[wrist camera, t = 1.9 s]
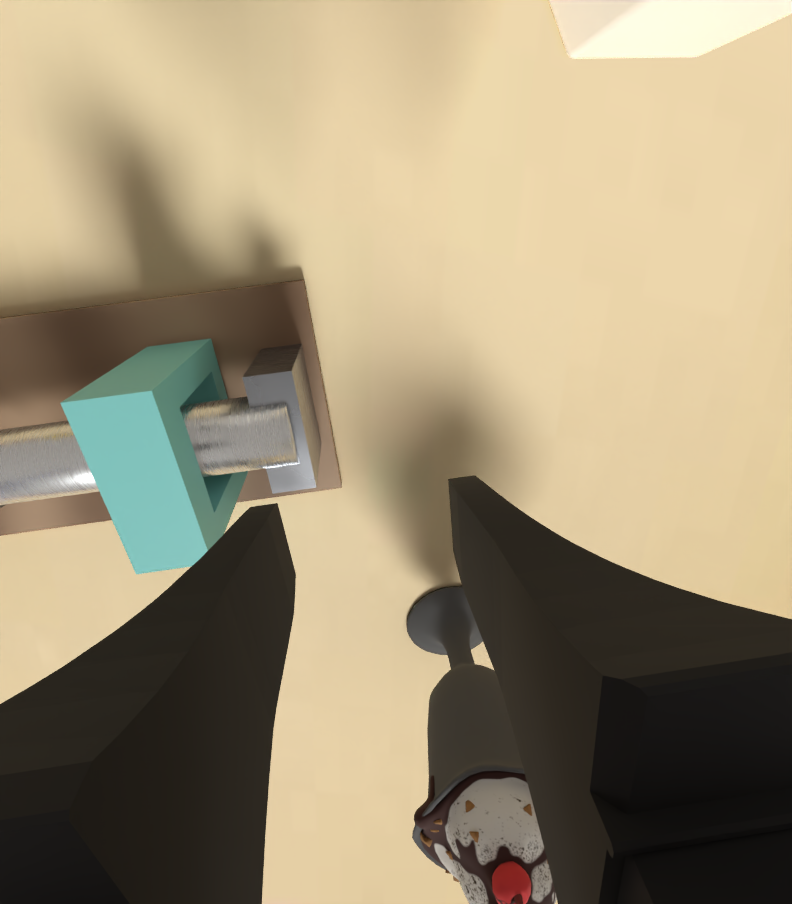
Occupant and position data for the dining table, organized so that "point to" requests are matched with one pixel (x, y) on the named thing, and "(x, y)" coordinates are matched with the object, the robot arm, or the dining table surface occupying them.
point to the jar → (659, 25)
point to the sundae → (475, 769)
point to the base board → (125, 334)
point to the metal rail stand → (191, 437)
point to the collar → (155, 454)
